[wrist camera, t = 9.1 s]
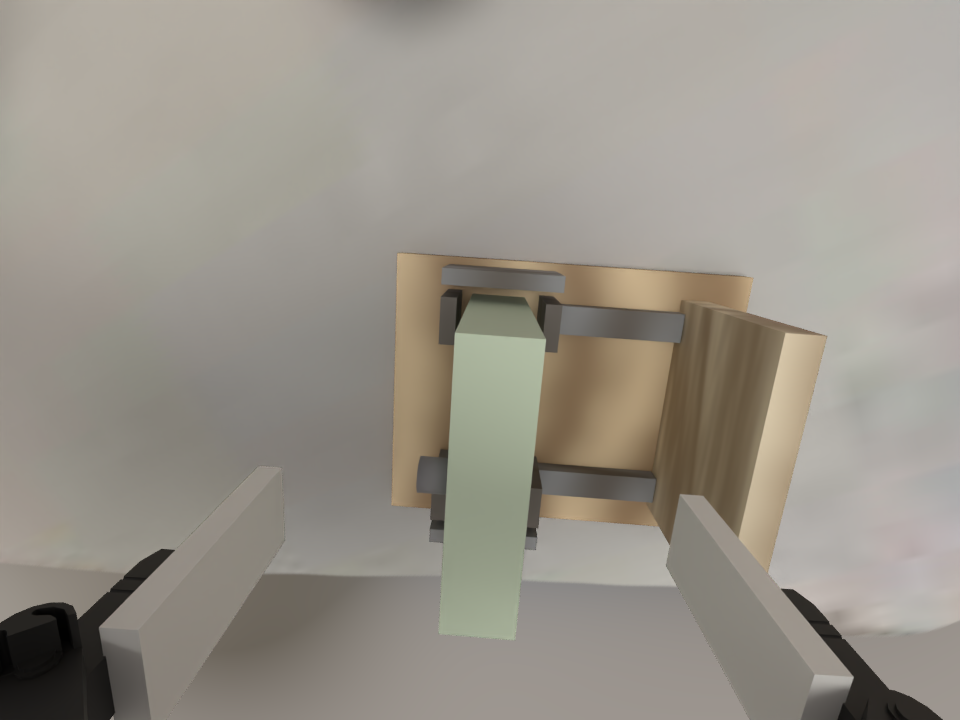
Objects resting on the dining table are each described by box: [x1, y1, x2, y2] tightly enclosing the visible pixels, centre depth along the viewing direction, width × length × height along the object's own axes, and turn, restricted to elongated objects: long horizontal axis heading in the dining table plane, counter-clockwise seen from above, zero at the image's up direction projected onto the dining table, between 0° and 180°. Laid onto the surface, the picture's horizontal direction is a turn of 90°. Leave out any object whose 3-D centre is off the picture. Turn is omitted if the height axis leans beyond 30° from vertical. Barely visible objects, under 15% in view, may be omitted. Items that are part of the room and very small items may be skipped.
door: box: [416, 294, 546, 640], centre depth 23 cm, size 4×12×12 cm, turn 176°
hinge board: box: [391, 253, 827, 573], centre depth 24 cm, size 20×16×11 cm
